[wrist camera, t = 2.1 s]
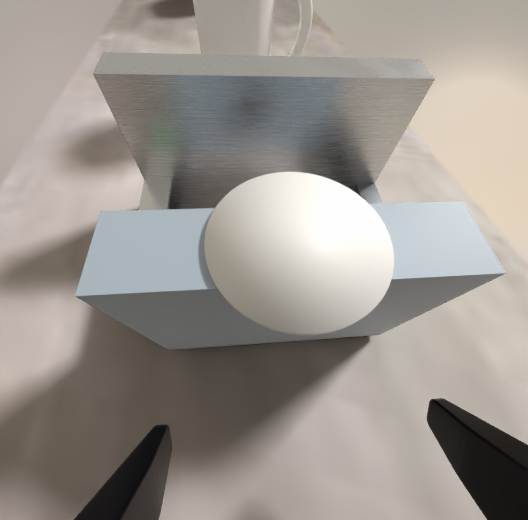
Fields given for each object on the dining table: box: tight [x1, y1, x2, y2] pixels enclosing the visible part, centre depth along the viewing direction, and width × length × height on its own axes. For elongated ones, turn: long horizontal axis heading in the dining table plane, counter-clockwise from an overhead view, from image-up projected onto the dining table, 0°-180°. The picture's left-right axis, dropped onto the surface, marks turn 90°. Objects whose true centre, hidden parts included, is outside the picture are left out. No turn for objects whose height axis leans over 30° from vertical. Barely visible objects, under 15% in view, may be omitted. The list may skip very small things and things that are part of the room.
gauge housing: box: [93, 52, 435, 210], centre depth 15 cm, size 11×17×10 cm, turn 95°
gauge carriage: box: [75, 172, 506, 350], centre depth 12 cm, size 6×15×9 cm, turn 95°
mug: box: [193, 0, 312, 57], centre depth 23 cm, size 10×7×12 cm, turn 95°
